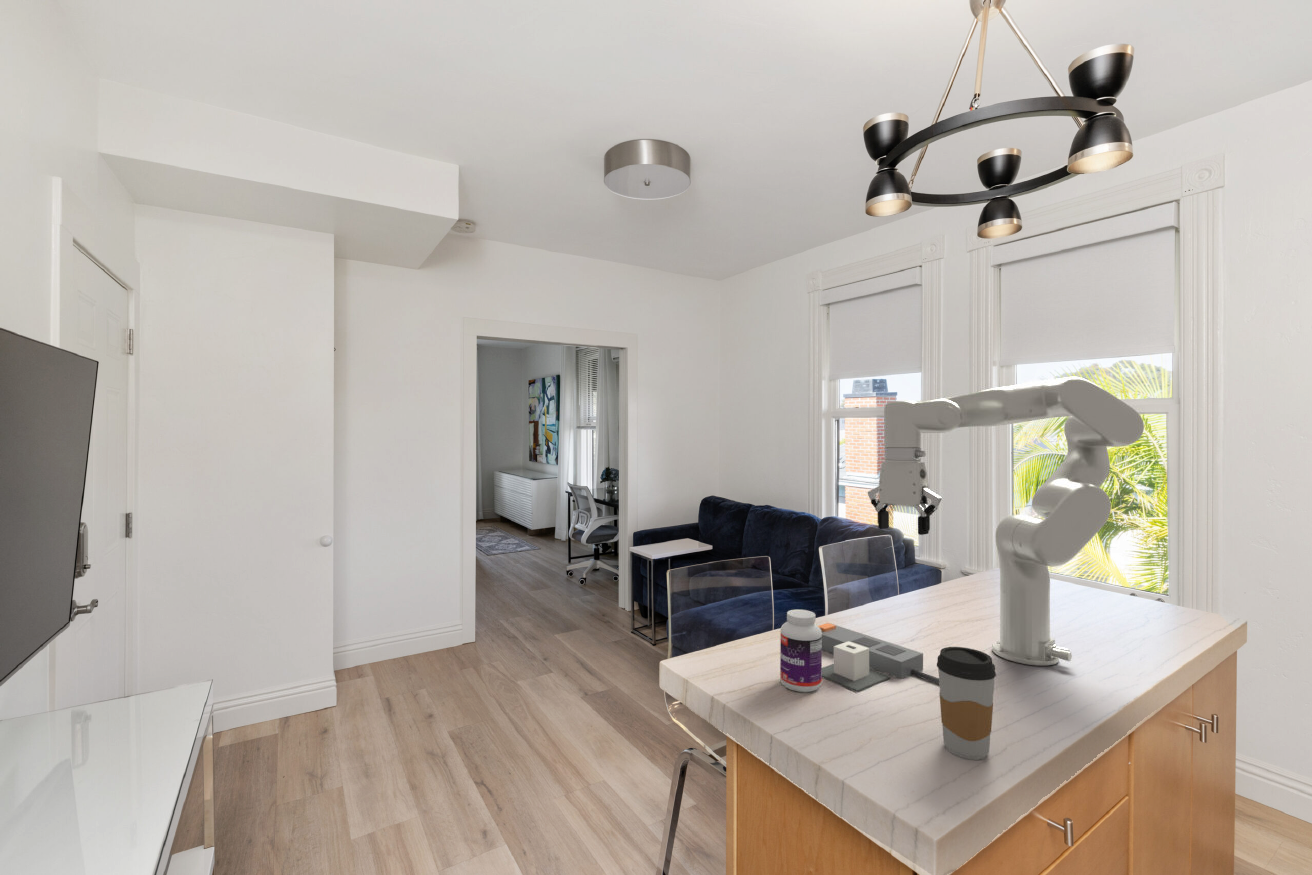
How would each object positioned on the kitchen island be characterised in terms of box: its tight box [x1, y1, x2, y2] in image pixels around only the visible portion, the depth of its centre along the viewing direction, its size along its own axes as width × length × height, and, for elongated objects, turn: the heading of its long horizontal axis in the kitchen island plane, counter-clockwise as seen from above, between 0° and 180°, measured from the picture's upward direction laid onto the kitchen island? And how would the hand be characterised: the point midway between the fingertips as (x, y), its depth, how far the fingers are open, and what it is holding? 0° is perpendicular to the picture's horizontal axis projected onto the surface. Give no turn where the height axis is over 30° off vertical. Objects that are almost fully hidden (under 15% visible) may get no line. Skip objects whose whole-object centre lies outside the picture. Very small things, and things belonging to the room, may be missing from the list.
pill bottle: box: [779, 609, 823, 693], centre depth 115 cm, size 8×8×14 cm
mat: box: [822, 663, 892, 693], centre depth 119 cm, size 11×11×1 cm
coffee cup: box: [936, 646, 997, 761], centre depth 91 cm, size 8×8×15 cm
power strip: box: [817, 622, 939, 684], centre depth 125 cm, size 36×8×4 cm, turn 35°
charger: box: [833, 641, 870, 681], centre depth 119 cm, size 5×5×6 cm
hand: (902, 531), depth 130 cm, fingers open, 9 cm apart
